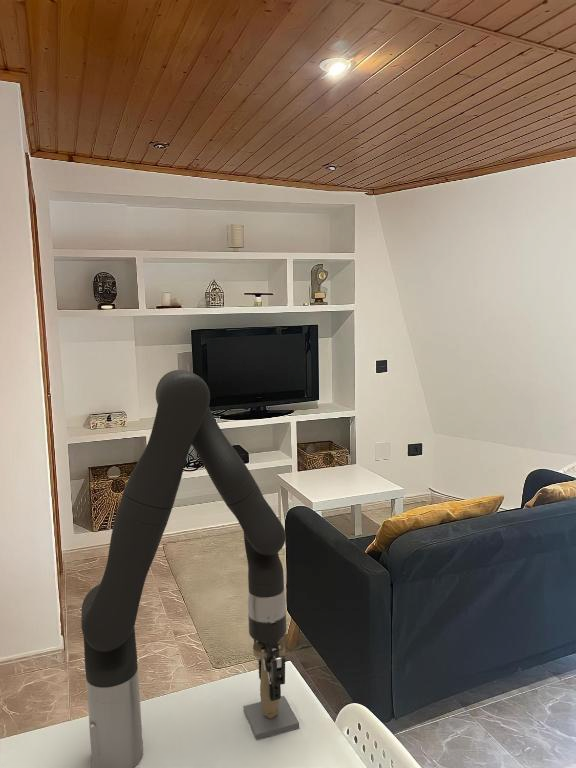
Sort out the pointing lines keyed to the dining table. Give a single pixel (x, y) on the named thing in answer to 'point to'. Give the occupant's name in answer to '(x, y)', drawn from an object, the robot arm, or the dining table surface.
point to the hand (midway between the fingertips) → (269, 688)
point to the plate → (270, 720)
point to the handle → (268, 706)
